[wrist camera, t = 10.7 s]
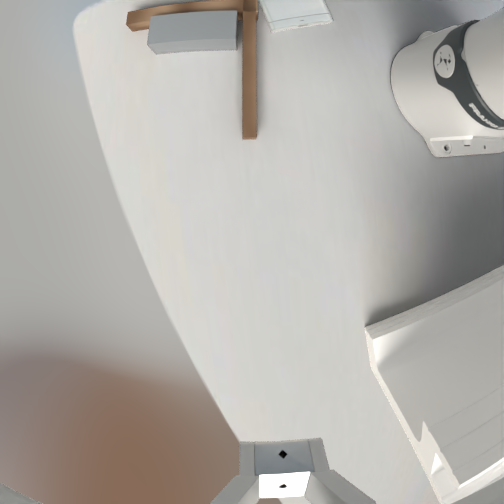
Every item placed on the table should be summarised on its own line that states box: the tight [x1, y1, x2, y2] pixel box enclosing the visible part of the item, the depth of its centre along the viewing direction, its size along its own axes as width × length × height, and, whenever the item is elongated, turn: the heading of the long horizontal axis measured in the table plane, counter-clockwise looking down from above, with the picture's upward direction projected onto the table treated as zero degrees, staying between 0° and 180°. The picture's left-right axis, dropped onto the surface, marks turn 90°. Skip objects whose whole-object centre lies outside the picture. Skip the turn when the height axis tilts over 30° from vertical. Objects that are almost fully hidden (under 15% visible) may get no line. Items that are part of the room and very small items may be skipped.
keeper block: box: [147, 11, 238, 54], centre depth 29 cm, size 10×4×4 cm, turn 88°
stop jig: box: [126, 0, 258, 139], centre depth 31 cm, size 16×18×2 cm
